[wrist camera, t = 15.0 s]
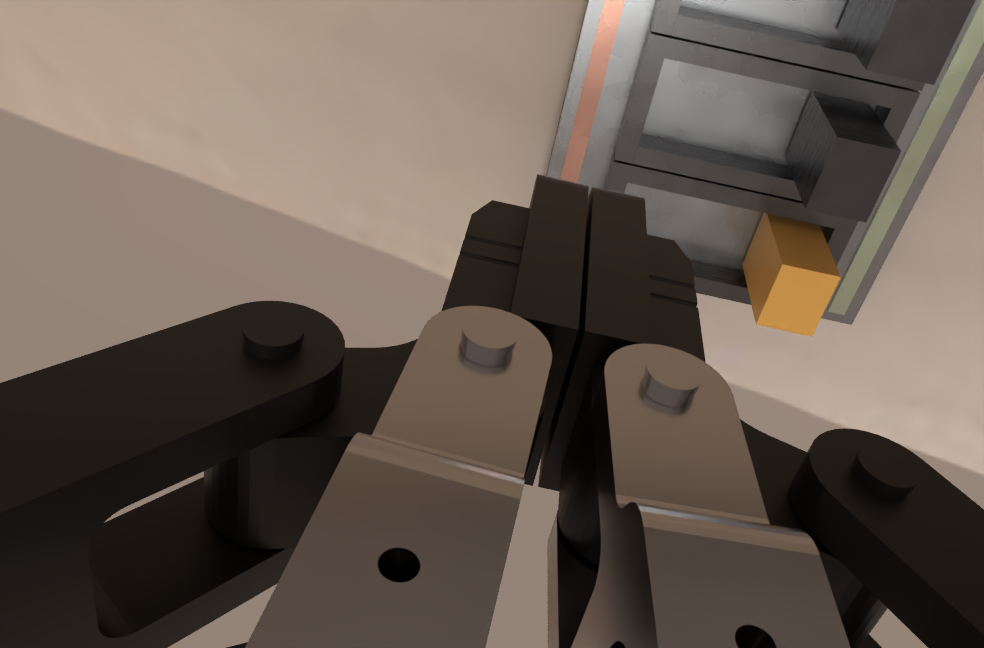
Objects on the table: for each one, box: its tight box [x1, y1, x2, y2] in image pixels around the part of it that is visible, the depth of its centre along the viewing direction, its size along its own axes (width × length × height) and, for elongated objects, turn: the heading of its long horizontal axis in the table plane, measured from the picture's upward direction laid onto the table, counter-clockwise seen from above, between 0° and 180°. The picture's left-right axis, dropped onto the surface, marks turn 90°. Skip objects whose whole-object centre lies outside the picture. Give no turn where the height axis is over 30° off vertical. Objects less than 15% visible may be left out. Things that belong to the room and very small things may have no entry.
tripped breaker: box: [742, 213, 841, 336], centre depth 37 cm, size 2×3×5 cm
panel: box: [546, 0, 984, 325], centre depth 35 cm, size 16×18×7 cm
